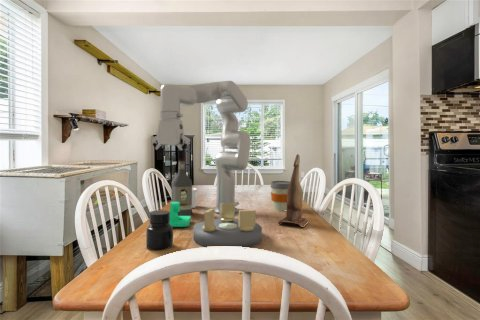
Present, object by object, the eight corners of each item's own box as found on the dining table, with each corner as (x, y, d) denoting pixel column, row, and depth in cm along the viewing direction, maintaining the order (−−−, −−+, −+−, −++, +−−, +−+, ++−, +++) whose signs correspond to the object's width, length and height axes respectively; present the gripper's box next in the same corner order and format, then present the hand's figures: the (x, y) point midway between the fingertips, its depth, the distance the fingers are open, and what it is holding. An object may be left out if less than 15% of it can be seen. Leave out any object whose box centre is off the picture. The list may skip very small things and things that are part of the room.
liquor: (170, 212, 153) (170, 153, 151) (188, 210, 156) (188, 153, 154) (174, 216, 144) (174, 154, 142) (192, 215, 148) (193, 154, 146)
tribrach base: (222, 224, 132) (222, 198, 132) (273, 235, 117) (274, 207, 117) (178, 239, 111) (179, 209, 110) (234, 255, 96) (235, 220, 96)
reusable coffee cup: (276, 205, 172) (277, 180, 171) (296, 209, 165) (297, 182, 164) (265, 209, 162) (266, 182, 161) (286, 213, 155) (287, 184, 154)
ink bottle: (178, 243, 107) (178, 210, 106) (166, 252, 99) (166, 216, 98) (153, 240, 109) (153, 208, 109) (140, 249, 101) (140, 214, 100)
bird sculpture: (277, 226, 131) (279, 154, 128) (285, 219, 142) (287, 152, 139) (302, 230, 127) (305, 155, 124) (308, 223, 137) (311, 153, 134)
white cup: (199, 205, 169) (199, 188, 168) (193, 208, 161) (193, 190, 161) (187, 204, 171) (187, 187, 171) (180, 207, 164) (180, 189, 163)
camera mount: (186, 229, 125) (186, 205, 124) (168, 228, 125) (168, 204, 124) (191, 221, 137) (191, 199, 136) (174, 221, 137) (174, 199, 136)
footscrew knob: (235, 219, 124) (235, 202, 124) (233, 222, 119) (234, 205, 119) (220, 219, 125) (220, 201, 124) (218, 222, 120) (219, 204, 119)
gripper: (194, 117, 118) (194, 160, 119) (157, 117, 124) (157, 158, 125) (185, 115, 111) (184, 161, 112) (146, 116, 117) (146, 159, 118)
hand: (170, 160), depth 119 cm, fingers open, 9 cm apart
